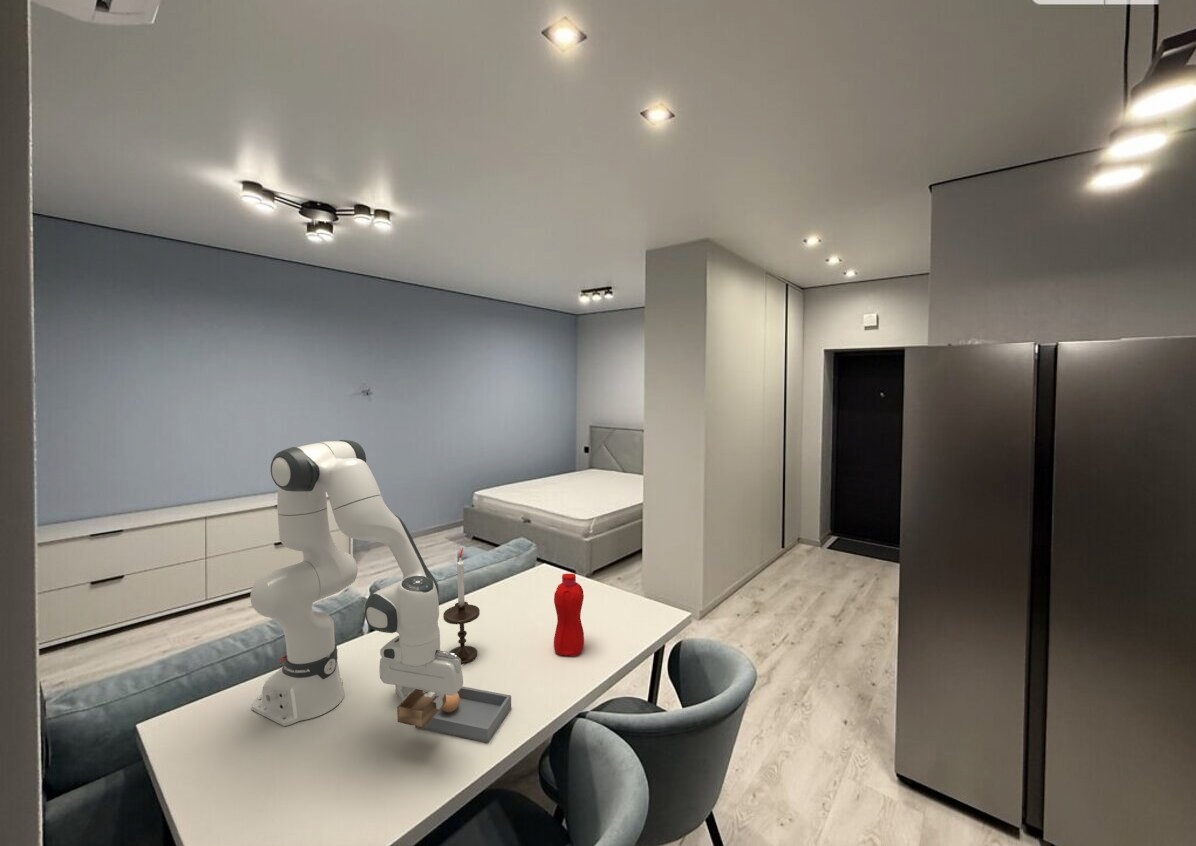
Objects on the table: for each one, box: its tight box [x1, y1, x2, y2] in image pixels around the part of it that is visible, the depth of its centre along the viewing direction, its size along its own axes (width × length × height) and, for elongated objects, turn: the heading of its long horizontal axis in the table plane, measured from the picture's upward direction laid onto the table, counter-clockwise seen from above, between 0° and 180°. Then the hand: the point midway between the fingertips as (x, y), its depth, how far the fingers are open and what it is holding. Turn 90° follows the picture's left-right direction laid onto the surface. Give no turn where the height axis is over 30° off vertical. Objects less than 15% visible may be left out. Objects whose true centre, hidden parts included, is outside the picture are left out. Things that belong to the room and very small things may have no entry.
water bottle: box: [553, 573, 585, 657], centre depth 157 cm, size 9×11×25 cm
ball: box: [441, 693, 460, 712], centre depth 128 cm, size 5×5×5 cm
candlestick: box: [442, 547, 481, 666], centre depth 152 cm, size 11×11×35 cm
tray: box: [414, 685, 512, 744], centre depth 126 cm, size 20×13×4 cm, turn 75°
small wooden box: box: [396, 689, 446, 728], centre depth 114 cm, size 7×9×4 cm
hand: (422, 704), depth 114 cm, fingers closed on small wooden box, 7 cm apart
